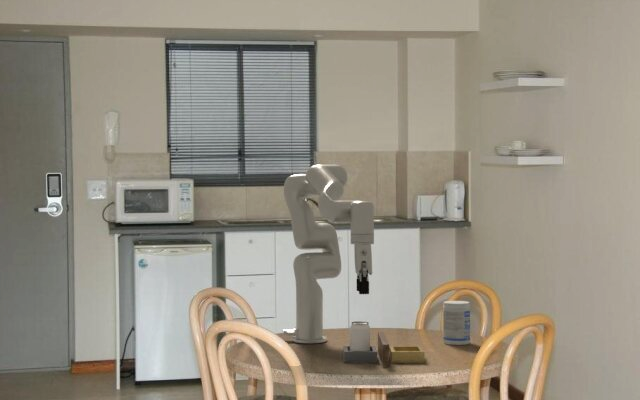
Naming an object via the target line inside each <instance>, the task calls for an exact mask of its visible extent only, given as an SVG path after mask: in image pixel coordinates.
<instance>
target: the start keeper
mask: <svg viewBox="0 0 640 400" xmlns="http://www.w3.org/2000/svg"><path fill="white" fill-rule="evenodd" d="M342 352H343V353H342V354H343V356H342V357H343V363H344V364H355V363H356V364H357V363H358V364H377V363H378V349H377V347H376V345H370V351H350V345H343V351H342Z"/></svg>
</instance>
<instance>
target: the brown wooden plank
mask: <svg viewBox="0 0 640 400" xmlns="http://www.w3.org/2000/svg"><path fill="white" fill-rule="evenodd" d="M389 346H390V343H389V341H388V338H387V337H386V334H385V332H384V331H377V356H378V357H379V361H380V362H381V366H382V368H390V357H389Z"/></svg>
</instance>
